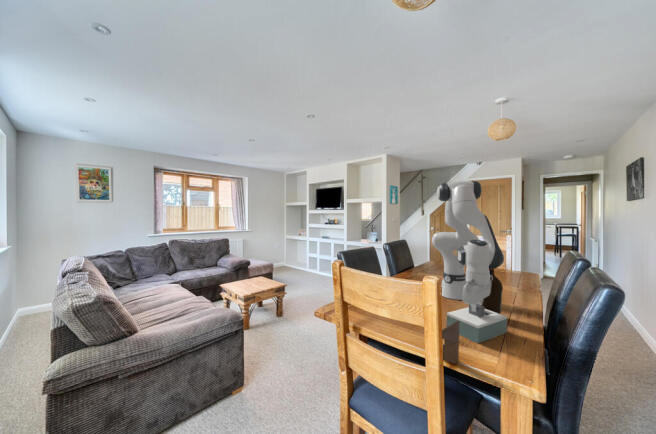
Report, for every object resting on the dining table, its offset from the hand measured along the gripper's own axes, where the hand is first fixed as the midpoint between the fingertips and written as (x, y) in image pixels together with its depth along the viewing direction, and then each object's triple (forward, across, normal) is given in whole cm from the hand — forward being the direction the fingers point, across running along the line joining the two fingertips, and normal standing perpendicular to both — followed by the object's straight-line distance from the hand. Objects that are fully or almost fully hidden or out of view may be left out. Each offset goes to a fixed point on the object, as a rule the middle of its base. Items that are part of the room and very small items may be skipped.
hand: (476, 309), depth 109 cm
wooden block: (+9, -31, 0) cm, 32 cm away
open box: (+9, 0, 0) cm, 9 cm away
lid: (+3, 0, 0) cm, 3 cm away
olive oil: (+9, +21, +2) cm, 23 cm away
